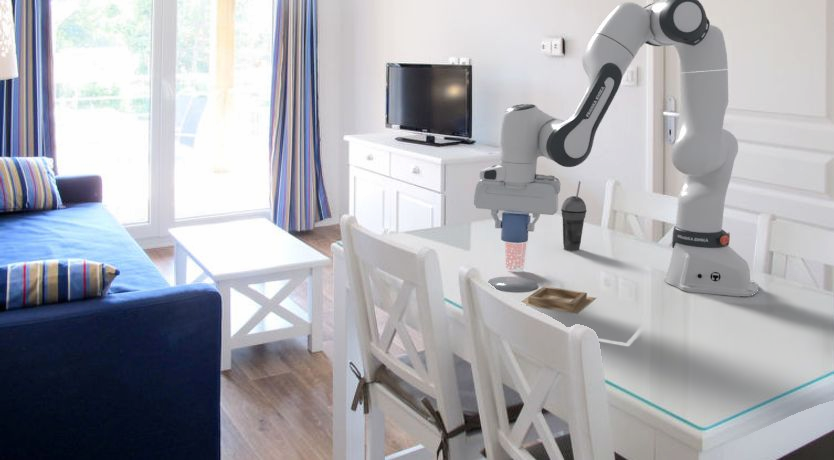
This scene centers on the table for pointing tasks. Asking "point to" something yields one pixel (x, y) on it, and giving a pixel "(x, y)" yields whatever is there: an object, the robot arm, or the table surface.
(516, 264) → the beverage cup
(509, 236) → the blue cylinder with nub
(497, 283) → the coaster
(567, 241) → the beverage cup
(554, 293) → the tray
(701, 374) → the table surface
